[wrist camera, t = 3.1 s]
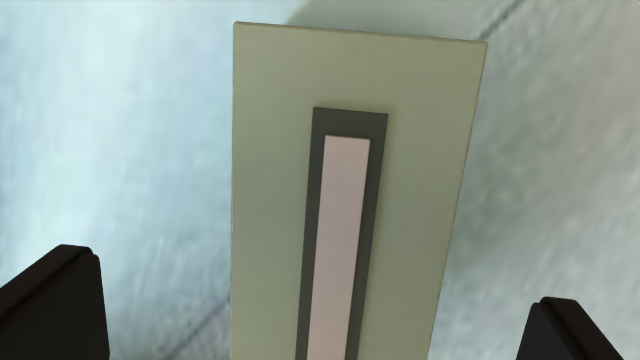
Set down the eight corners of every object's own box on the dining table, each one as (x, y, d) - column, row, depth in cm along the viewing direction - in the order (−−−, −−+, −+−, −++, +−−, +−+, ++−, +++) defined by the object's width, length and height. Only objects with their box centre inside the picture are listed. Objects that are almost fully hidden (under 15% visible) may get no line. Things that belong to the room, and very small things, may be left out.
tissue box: (441, 38, 17) (492, 42, 11) (397, 312, 22) (413, 442, 15) (281, 25, 18) (229, 20, 11) (269, 297, 22) (226, 416, 15)
